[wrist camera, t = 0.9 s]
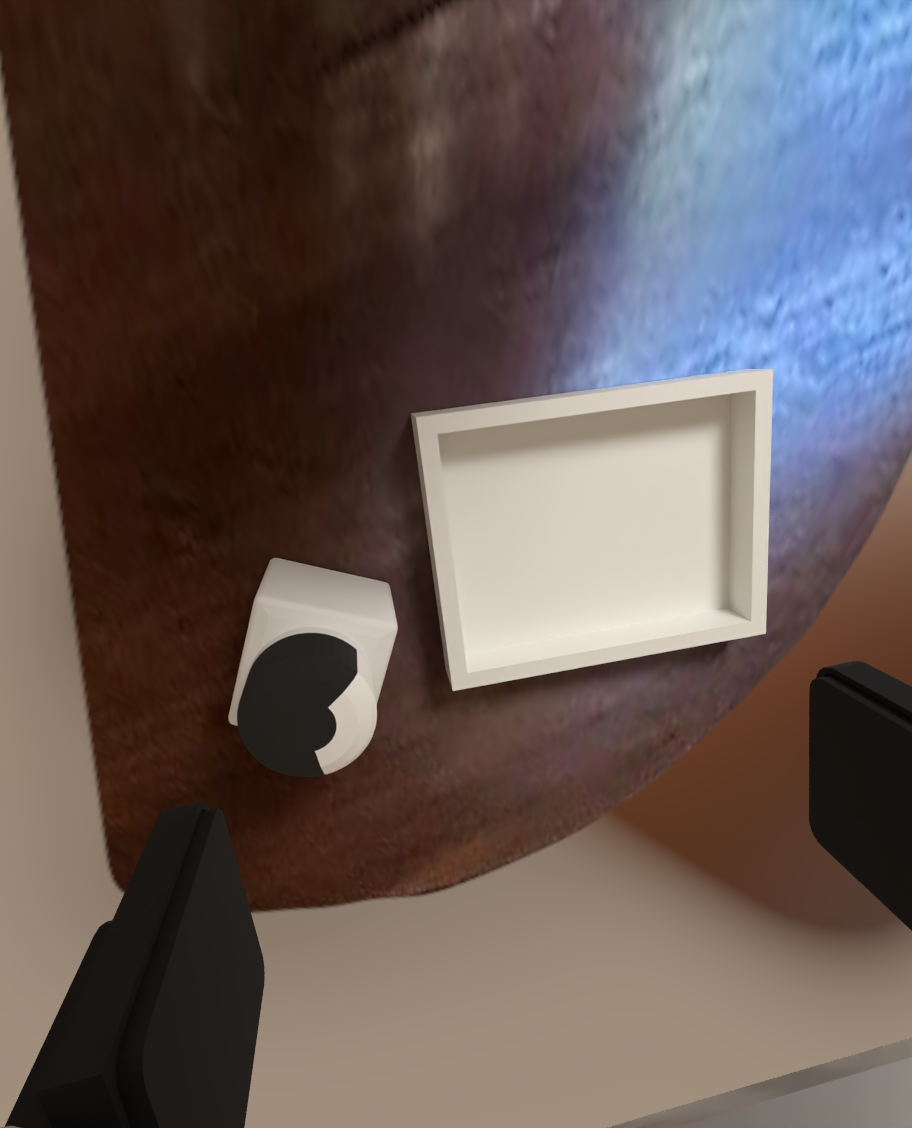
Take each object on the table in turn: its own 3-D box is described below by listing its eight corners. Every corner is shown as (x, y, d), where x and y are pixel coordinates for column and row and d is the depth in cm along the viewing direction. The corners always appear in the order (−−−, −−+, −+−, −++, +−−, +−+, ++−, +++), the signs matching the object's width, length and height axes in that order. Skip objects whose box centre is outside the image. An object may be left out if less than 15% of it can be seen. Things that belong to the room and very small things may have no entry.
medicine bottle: (246, 665, 40) (205, 785, 28) (271, 554, 38) (238, 634, 27) (362, 687, 41) (368, 808, 30) (391, 581, 40) (408, 667, 28)
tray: (410, 413, 37) (415, 417, 34) (742, 369, 39) (773, 369, 36) (445, 669, 42) (452, 691, 39) (738, 616, 44) (765, 633, 41)
